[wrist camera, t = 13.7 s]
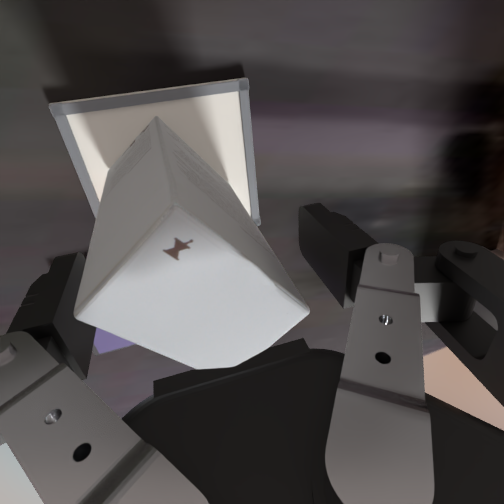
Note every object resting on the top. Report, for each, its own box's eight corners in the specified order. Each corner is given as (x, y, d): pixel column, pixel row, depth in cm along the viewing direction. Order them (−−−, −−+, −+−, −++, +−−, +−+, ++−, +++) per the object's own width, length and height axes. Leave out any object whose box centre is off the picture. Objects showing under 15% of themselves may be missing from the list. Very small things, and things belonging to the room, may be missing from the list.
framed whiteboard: (245, 77, 18) (248, 78, 17) (258, 221, 23) (260, 225, 22) (51, 103, 16) (47, 104, 15) (111, 253, 21) (111, 258, 20)
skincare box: (105, 171, 18) (60, 318, 8) (155, 112, 17) (175, 195, 7) (187, 232, 21) (228, 388, 11) (233, 186, 20) (318, 310, 10)
